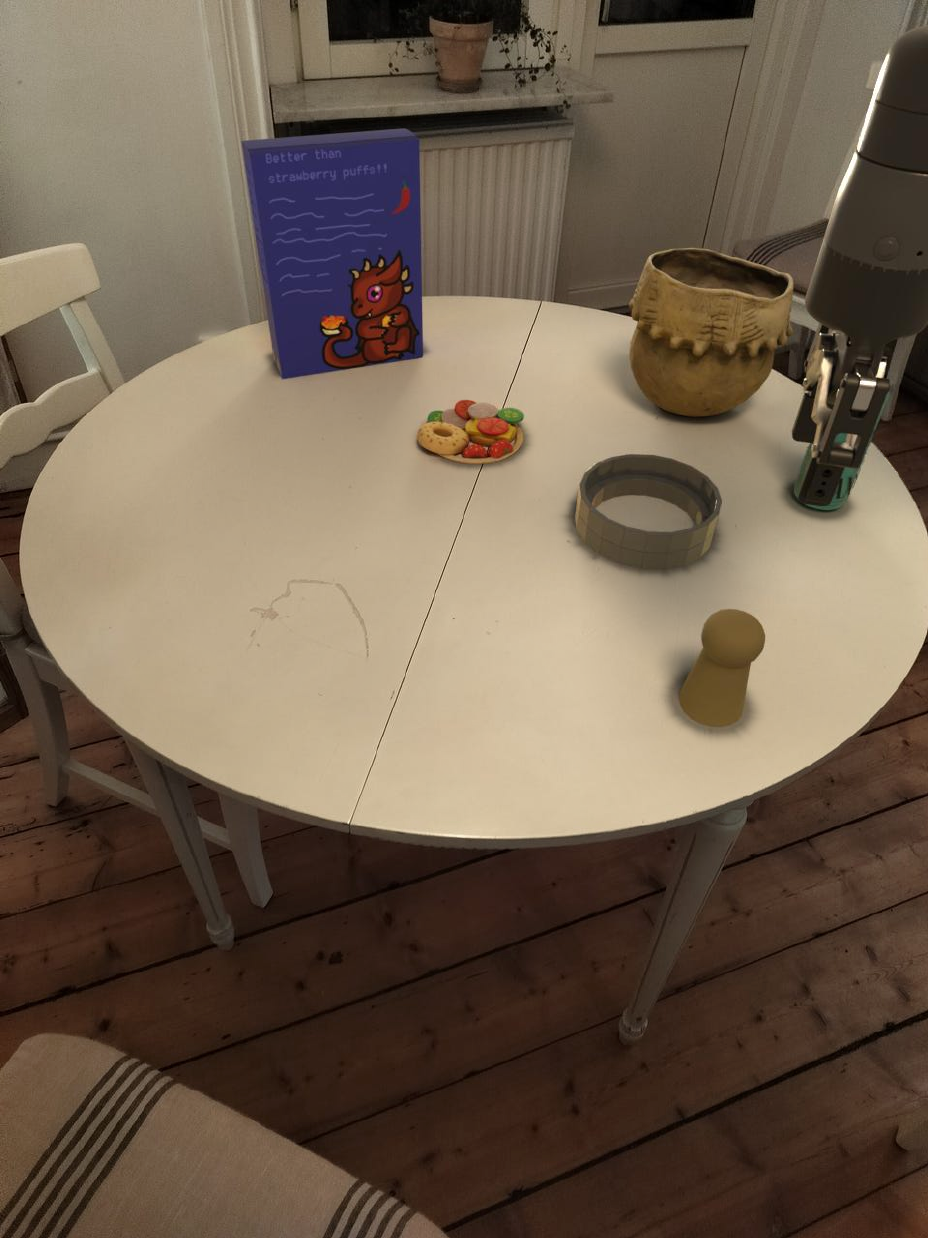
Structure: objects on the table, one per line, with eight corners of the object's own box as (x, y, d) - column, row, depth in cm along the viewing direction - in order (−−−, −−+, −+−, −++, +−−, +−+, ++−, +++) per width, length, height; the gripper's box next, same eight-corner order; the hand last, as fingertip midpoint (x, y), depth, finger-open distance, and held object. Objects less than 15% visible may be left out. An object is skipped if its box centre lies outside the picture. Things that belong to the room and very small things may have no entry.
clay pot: (681, 358, 129) (709, 222, 115) (796, 415, 117) (843, 271, 103) (583, 397, 119) (601, 254, 105) (697, 463, 107) (734, 312, 93)
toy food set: (408, 459, 107) (407, 437, 104) (440, 410, 116) (440, 388, 114) (508, 477, 104) (509, 455, 102) (533, 426, 113) (535, 404, 111)
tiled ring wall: (732, 525, 98) (744, 486, 94) (671, 594, 89) (681, 553, 85) (617, 478, 104) (623, 439, 101) (548, 537, 95) (553, 497, 92)
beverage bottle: (786, 514, 99) (841, 357, 86) (789, 485, 104) (842, 330, 90) (843, 526, 98) (909, 367, 84) (844, 495, 102) (906, 340, 89)
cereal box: (411, 340, 132) (405, 125, 111) (423, 357, 128) (419, 137, 107) (274, 361, 126) (240, 138, 105) (282, 378, 122) (249, 151, 101)
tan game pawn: (750, 700, 78) (783, 614, 70) (730, 743, 74) (763, 658, 66) (688, 675, 80) (714, 589, 72) (666, 716, 76) (691, 630, 69)
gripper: (982, 293, 44) (873, 535, 55) (936, 209, 54) (852, 428, 66) (835, 277, 45) (757, 517, 57) (817, 198, 56) (754, 415, 67)
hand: (808, 469), depth 61 cm, fingers open, 8 cm apart
